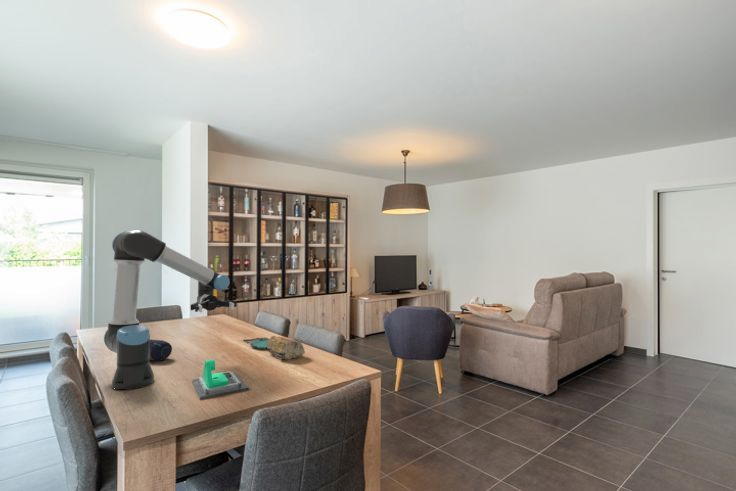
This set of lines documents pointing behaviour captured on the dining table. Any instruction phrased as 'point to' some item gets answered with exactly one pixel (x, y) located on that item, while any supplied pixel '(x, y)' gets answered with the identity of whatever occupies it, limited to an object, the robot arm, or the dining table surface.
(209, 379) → the camera mount
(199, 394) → the plate
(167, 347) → the portable speaker
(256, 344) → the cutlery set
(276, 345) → the petrified wood
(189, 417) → the dining table surface
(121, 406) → the dining table surface
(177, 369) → the dining table surface
